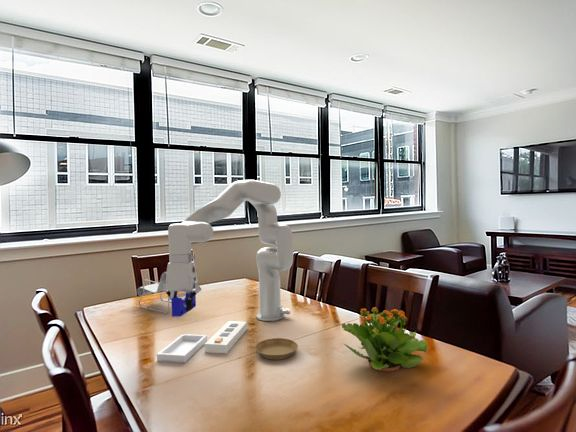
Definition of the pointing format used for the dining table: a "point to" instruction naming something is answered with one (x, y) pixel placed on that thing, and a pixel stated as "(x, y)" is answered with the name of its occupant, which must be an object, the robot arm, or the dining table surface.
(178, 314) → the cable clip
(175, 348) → the cable tray
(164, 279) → the chair
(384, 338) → the potted flower
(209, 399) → the dining table surface
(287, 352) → the plant saucer
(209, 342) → the power strip
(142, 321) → the dining table surface
